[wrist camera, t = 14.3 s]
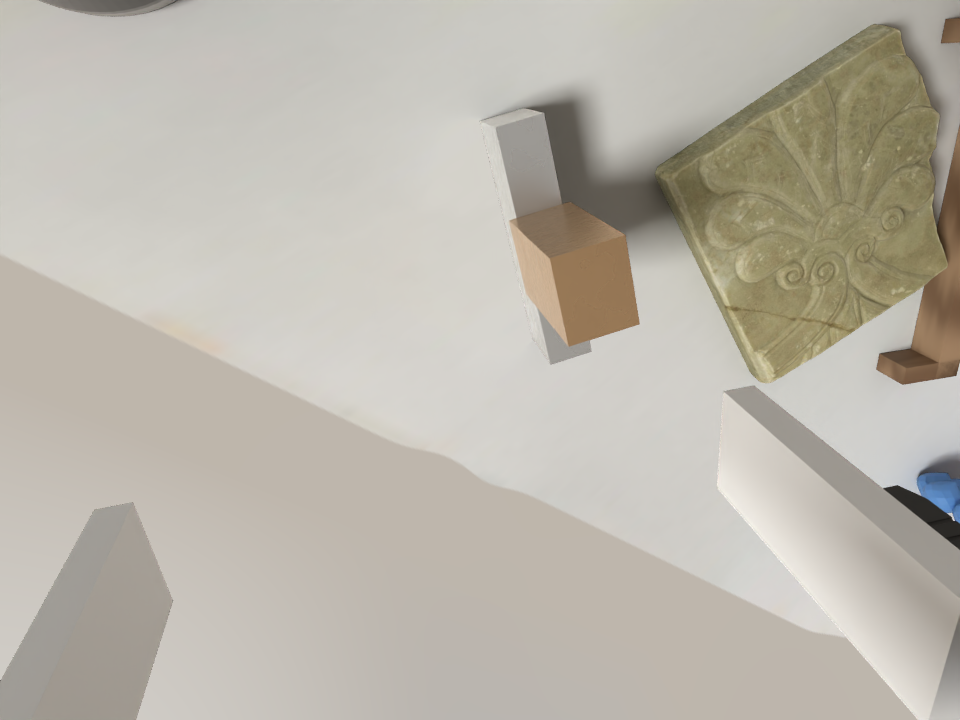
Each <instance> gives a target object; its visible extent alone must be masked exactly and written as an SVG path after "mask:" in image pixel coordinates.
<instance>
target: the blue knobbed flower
mask: <svg viewBox="0 0 960 720" xmlns="http://www.w3.org/2000/svg"><path fill="white" fill-rule="evenodd" d="M917 486H918V489H919V491H920V493H921V495H922V497H924V498H926V499H928V500H930V501H931V502H932V503H934V504H935V505H936V506H938V507H939V508H940V509H942V510H943V511H944V512H945V513H953V516H954V519H955V521H957V522H959V523H960V479H951V478H950V476H949V474H948V473H924V474H922V475H920V476H919V477H918V478H917Z"/></svg>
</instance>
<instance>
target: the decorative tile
mask: <svg viewBox="0 0 960 720" xmlns="http://www.w3.org/2000/svg"><path fill="white" fill-rule="evenodd" d="M939 119H940V116H939V113H938V112H937V111H936V110H935V109H934V108H933V107H932V106H931V104H930V101H929V97H928V95H927V93H926V89H925V85H924V83H923V78H922V76H921V74H920V73H919V71H918V69H917V68H916V66H915V64H914V62H913V61H912V60H911V59H910V58H909V57H908V56H906V53H905V50H904V47H903V43H902V40H901V32H900V30H899V29H895V28H892V27H888V26H884V25H876V24H873V25H871V26H869V27H867V28H866V29H864V30H863V31H861V32H860V33H858V34H856V35H855V36H853V37H852V38H850V39H849V40H847V41H846V42H844V43H842V44H841V45H839V46H838V47H836V48H835V49H833V50H832V51H830V52H829V53H827V54H825V55H824V56H822V57H821V58H819V59H818V60H816V61H815V62H813V63H812V64H810V65H808V66H807V67H805V68H804V69H802V70H801V71H799V72H798V73H796V74H795V75H793V76H792V77H790V78H789V79H787V80H785V81H784V82H782V83H781V84H779V85H778V86H776V87H775V88H774V89H772V90H771V91H769V92H768V93H766V94H765V95H763V96H762V97H760V98H759V99H757V100H756V101H754V102H753V103H751V104H750V105H748V106H747V107H746V108H744V109H743V110H741V111H740V112H738V113H737V114H735V115H734V116H732V117H730V118H729V119H727V120H726V121H724V122H723V123H721V124H720V125H718V126H717V127H715V128H714V129H712V130H711V131H710V132H708V133H707V134H705V135H704V136H702V137H701V138H699V139H698V140H697V141H695V142H694V143H692V144H691V145H689V146H688V147H686V148H685V149H683V150H682V151H680V152H679V153H677V154H676V155H674V156H673V157H671V158H670V159H668V160H667V161H665V162H664V163H662V164H661V165H660V166H658V167H657V170H656V172H655V177H656V179H657V181H658V183H659V185H660V187H661V190H662V192H663V194H664V196H665V198H666V200H667V202H668V204H669V206H670V208H671V210H672V212H673V214H674V216H675V218H676V220H677V222H678V225H679V227H680V229H681V231H682V233H683V235H684V237H685V239H686V241H687V243H688V245H689V247H690V249H691V251H692V253H693V255H694V257H695V260H696V262H697V264H698V266H699V268H700V270H701V272H702V274H703V276H704V278H705V280H706V282H707V284H708V286H709V288H710V290H711V292H712V294H713V297H714V299H715V301H716V303H717V305H718V307H719V309H720V311H721V313H722V315H723V317H724V319H725V321H726V323H727V325H728V327H729V330H730V332H731V334H732V336H733V338H734V340H735V342H736V344H737V346H738V348H739V350H740V352H741V354H742V357H743V358H744V360H745V362H746V364H747V367H748V369H749V371H750V372H751V374H752V375H753V376H754V377H755V378H756V379H757V380H758V381H760V382H762V383H771V382H773V381H775V380H777V379H778V378H780V377H782V376H784V375H785V374H787V373H788V372H790V371H792V370H793V369H795V368H796V367H798V366H800V365H801V364H803V363H805V362H807V361H808V360H810V359H812V358H814V357H815V356H817V355H819V354H821V353H822V352H824V351H825V350H826V349H828V348H829V347H831V346H832V345H834V344H835V343H837V342H838V341H839V340H841V339H842V338H844V337H846V336H848V335H849V334H851V333H852V332H853V331H855V330H856V329H858V328H859V327H860V326H862V325H863V324H865V323H867V322H869V321H870V320H872V319H873V318H875V317H877V316H878V315H880V314H882V313H883V312H884V311H886V310H887V309H889V308H890V307H891V306H893V305H895V304H896V303H898V302H899V301H901V300H903V299H904V298H906V297H908V296H910V295H911V294H913V293H914V292H916V291H917V290H919V289H920V288H922V287H923V286H924V285H926V284H927V283H928V282H929V281H930V280H931V279H932V278H934V277H935V276H936V275H938V274H939V273H940V272H942V271H943V270H945V269H946V268H947V266H948V263H947V260H946V256H945V252H944V250H943V247H942V244H941V243H940V240H939V237H938V234H937V227H936V224H935V219H934V217H933V208H932V203H933V197H934V193H933V192H934V188H935V177H934V174H933V171H932V167H931V165H930V162H929V159H930V157H931V155H932V153H933V150H934V149H935V148H936V134H937V131H938V125H939Z"/></svg>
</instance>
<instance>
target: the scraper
mask: <svg viewBox="0 0 960 720" xmlns="http://www.w3.org/2000/svg"><path fill="white" fill-rule="evenodd" d="M480 125H481V129H482V133H483V137H484V141H485V145H486V150H487V154H488V158H489V162H490V166H491V170H492V174H493V179H494V183H495V187H496V191H497V195H498V199H499V203H500V207H501V212H502V216H503V220H504V224H505V228H506V232H507V236H508V240H509V245H510V249H511V253H512V257H513V261H514V265H515V269H516V274H517V278H518V282H519V286H520V290H521V294H522V298H523V302H524V307H525V311H526V315H527V319H528V323H529V327H530V331H531V335H532V339H533V340H534V342H535V343H536V344H537V346H538V347H539V349H540V350H541V352H542V353H543V355H544V356H545V357H546V359H547V360H548V362H549V363H550V365H551V364H554V363H558V362H561V361H564V360H567V359H570V358H573V357H576V356H579V355H582V354H586V353H589V352H592V351H591V346H590V341H589V340H592V339H595V338H598V337H601V336H604V335H607V334H610V333H614V332H617V331H620V330H623V329H626V328H629V327H632V326H635V325H639V324H640V323H639V317H638V311H637V304H636V298H635V292H634V286H633V279H632V273H631V267H630V261H629V254H628V248H627V242H626V236H625V234H623V233H621V232H620V231H618V230H616V229H615V228H613V227H611V226H610V225H608V224H606V223H605V222H603V221H601V220H600V219H598V218H596V217H595V216H593V215H591V214H589V213H588V212H586V211H584V210H583V209H581V208H579V207H578V206H576V205H574V204H573V203H571V202H567V203H564V204H562V200H561V195H560V190H559V185H558V180H557V175H556V170H555V165H554V160H553V155H552V150H551V145H550V140H549V135H548V130H547V125H546V120H545V115H544V113H542V112H538V111H534V110H529V109H525V108H522V109H519V110H515V111H512V112H508V113H505V114H502V115H498V116H495V117H492V118H488V119H485V120H481V121H480Z"/></svg>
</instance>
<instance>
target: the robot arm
mask: <svg viewBox="0 0 960 720" xmlns="http://www.w3.org/2000/svg"><path fill="white" fill-rule="evenodd" d="M39 1H42V2H44V3H47V4H50V5H53V6H56V7H59V8H63V9H66V10H71V11H76V12H80V13H85V14H90V15H98V16H111V17H117V16H131V15H138V14H143V13H147V12H151V11H154V10H157V9H160V8H162V7H165V6H167V5H169V4H171V3H173V2H175V1H176V0H39ZM717 489H718V490H719V491H720V492H721V493H722V494H723V496H724V497H725V498H726V499H727V500H728V501H729V502H730V504H731V505H732V506H733V507H734V508H735V509H736V510H737V512H738V513H739V514H740V515H741V516H742V517H743V519H744V520H745V521H746V522H747V523H748V524H749V525H750V527H751V528H752V529H753V530H754V531H755V532H756V534H757V535H758V536H759V537H760V538H761V539H762V540H763V542H764V543H765V544H766V545H767V546H768V547H769V548H770V550H771V551H772V552H773V553H774V554H775V555H776V557H777V558H778V559H779V560H780V561H781V562H782V563H783V565H784V566H785V567H786V568H787V569H788V570H789V572H790V573H791V574H792V575H793V576H794V577H795V578H796V580H797V581H798V582H799V583H800V584H801V585H802V586H803V588H804V589H805V590H806V591H807V592H808V593H809V595H810V596H811V597H812V598H813V599H814V600H815V601H816V603H817V604H818V605H819V606H820V607H821V608H822V610H823V611H824V612H825V613H826V614H827V615H828V616H829V618H830V619H831V620H832V621H833V622H834V623H835V625H836V626H837V627H838V628H839V629H840V630H841V631H842V633H843V634H844V635H845V636H846V637H847V638H848V639H849V641H850V642H851V643H852V644H853V645H854V646H855V647H856V649H857V650H858V651H859V652H860V653H861V654H862V656H863V657H864V658H865V659H866V660H867V661H868V663H869V664H870V665H871V666H872V667H873V668H874V669H875V670H876V672H877V673H878V674H879V675H880V676H881V677H882V679H883V680H884V681H885V682H886V683H887V684H888V686H890V688H891V689H892V690H893V691H894V692H895V694H896V695H897V696H898V697H899V698H900V699H901V700H902V702H903V703H904V704H905V705H906V706H907V707H908V709H909V710H910V711H911V712H912V713H913V714H914V715H915V717H916V718H917V719H918V720H960V523H959V522H957V521H953V520H952V517H951V516H949V515H948V514H947V513H945V512H944V511H943V510H942V509H940V508H939V507H938V506H936V505H935V504H934V503H932V502H931V501H930V500H928V499H926V498H924V497H922V496H920V495H918V494H915V493H913V492H911V491H909V490H907V489H904V488H902V487H900V486H898V485H897V486H892V487H887V488H882V487H880V486H879V485H878V484H877V483H875V482H874V481H873V480H872V479H870V478H869V477H868V476H867V475H865V474H864V473H863V472H862V471H860V470H859V469H858V468H856V467H855V466H854V465H853V464H851V463H850V462H849V461H848V460H846V459H845V458H844V457H843V456H841V455H840V454H839V453H838V452H836V451H835V450H834V449H833V448H831V447H830V446H829V445H828V444H826V443H825V442H824V441H823V440H821V439H820V438H819V437H818V436H816V435H815V434H814V433H813V432H811V431H810V430H809V429H808V428H806V427H805V426H804V425H803V424H801V423H800V422H799V421H798V420H796V419H795V418H794V417H793V416H791V415H790V414H789V413H788V412H786V411H785V410H784V409H783V408H781V407H780V406H779V405H778V404H776V403H775V402H774V401H773V400H771V399H770V398H769V397H768V396H766V395H765V394H764V393H763V392H761V391H760V390H759V389H758V388H756V387H755V386H749V387H743V388H738V389H733V390H728V391H723V404H722V419H721V434H720V449H719V463H718V478H717ZM172 602H173V599H172V597H171V595H170V592H169V590H168V587H167V585H166V582H165V580H164V577H163V575H162V572H161V570H160V567H159V565H158V562H157V560H156V558H155V555H154V553H153V550H152V548H151V545H150V543H149V540H148V538H147V535H146V533H145V531H144V528H143V525H142V523H141V521H140V518H139V516H138V513H137V511H136V509H135V506H134V503H133V502H132V503H127V504H122V505H116V506H111V507H106V508H101V509H95V510H94V511H93V513H92V515H91V517H90V519H89V521H88V522H87V524H86V526H85V528H84V529H83V531H82V533H81V535H80V537H79V539H78V541H77V542H76V544H75V546H74V548H73V549H72V551H71V553H70V555H69V557H68V559H67V560H66V562H65V564H64V566H63V568H62V569H61V572H60V573H59V575H58V577H57V579H56V580H55V582H54V584H53V586H52V588H51V590H50V592H49V593H48V595H47V597H46V599H45V601H44V603H43V604H42V606H41V608H40V610H39V612H38V614H37V615H36V617H35V619H34V621H33V623H32V625H31V626H30V628H29V630H28V632H27V634H26V635H25V637H24V639H23V641H22V643H21V644H20V646H19V648H18V650H17V652H16V654H15V655H14V657H13V659H12V661H11V663H10V664H9V666H8V668H7V670H6V672H5V674H4V675H3V677H2V679H1V680H0V720H136V718H137V715H138V712H139V709H140V706H141V702H142V699H143V696H144V693H145V689H146V686H147V683H148V680H149V677H150V673H151V670H152V667H153V664H154V660H155V657H156V654H157V651H158V648H159V644H160V641H161V638H162V635H163V632H164V628H165V625H166V622H167V619H168V615H169V612H170V609H171V606H172Z"/></svg>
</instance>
